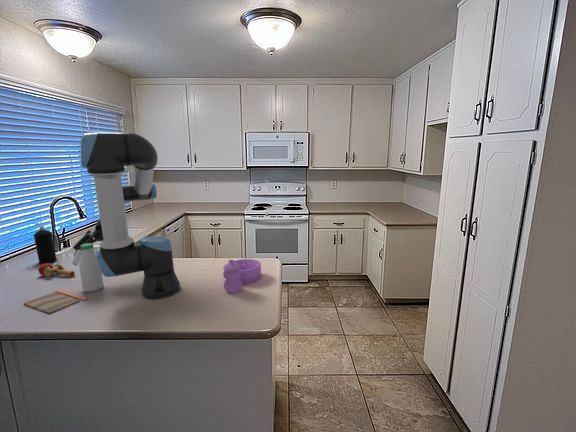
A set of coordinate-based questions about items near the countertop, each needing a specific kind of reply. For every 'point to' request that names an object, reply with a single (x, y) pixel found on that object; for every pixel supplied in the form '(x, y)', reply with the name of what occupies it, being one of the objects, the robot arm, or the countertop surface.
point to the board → (51, 302)
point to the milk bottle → (90, 269)
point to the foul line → (71, 295)
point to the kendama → (54, 270)
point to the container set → (241, 273)
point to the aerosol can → (45, 246)
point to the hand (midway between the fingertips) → (88, 264)
